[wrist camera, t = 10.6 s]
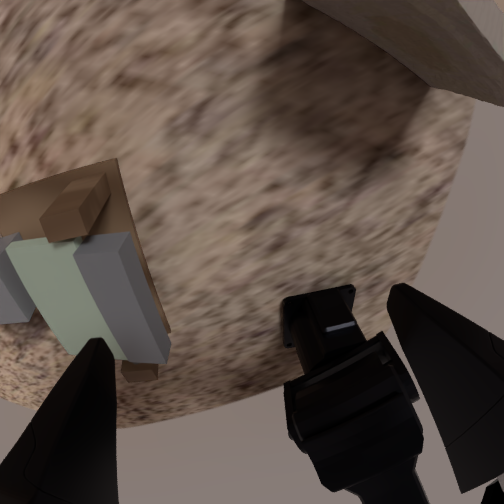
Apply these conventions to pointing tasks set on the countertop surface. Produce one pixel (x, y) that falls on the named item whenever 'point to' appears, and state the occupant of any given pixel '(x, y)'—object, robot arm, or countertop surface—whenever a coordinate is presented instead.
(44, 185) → the trapdoor frame
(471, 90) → the grey plaster block
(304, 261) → the countertop surface
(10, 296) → the grey rectangular block
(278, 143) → the countertop surface
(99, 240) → the trapdoor
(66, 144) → the countertop surface
